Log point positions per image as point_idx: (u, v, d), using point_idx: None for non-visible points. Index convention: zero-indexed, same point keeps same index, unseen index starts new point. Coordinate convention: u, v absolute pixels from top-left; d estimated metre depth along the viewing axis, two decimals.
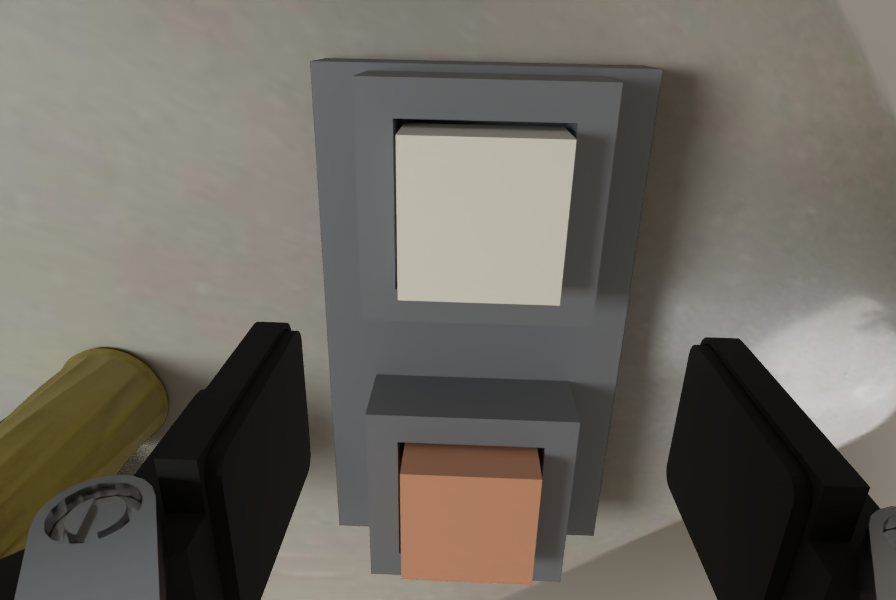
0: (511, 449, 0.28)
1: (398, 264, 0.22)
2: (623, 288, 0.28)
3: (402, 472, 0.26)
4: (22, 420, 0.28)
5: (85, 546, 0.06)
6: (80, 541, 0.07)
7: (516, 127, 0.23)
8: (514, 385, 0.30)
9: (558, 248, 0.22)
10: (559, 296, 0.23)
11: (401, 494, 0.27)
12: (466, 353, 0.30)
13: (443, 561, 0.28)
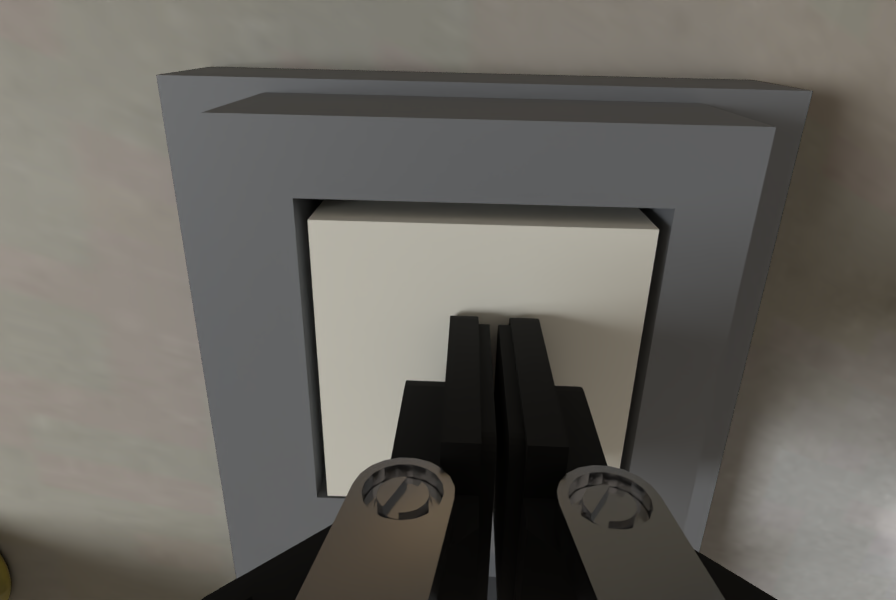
0: None
1: (326, 439, 0.12)
2: (712, 451, 0.17)
3: None
4: None
5: (385, 522, 0.07)
6: (385, 513, 0.07)
7: None
8: None
9: (615, 415, 0.12)
10: None
11: None
12: None
13: None
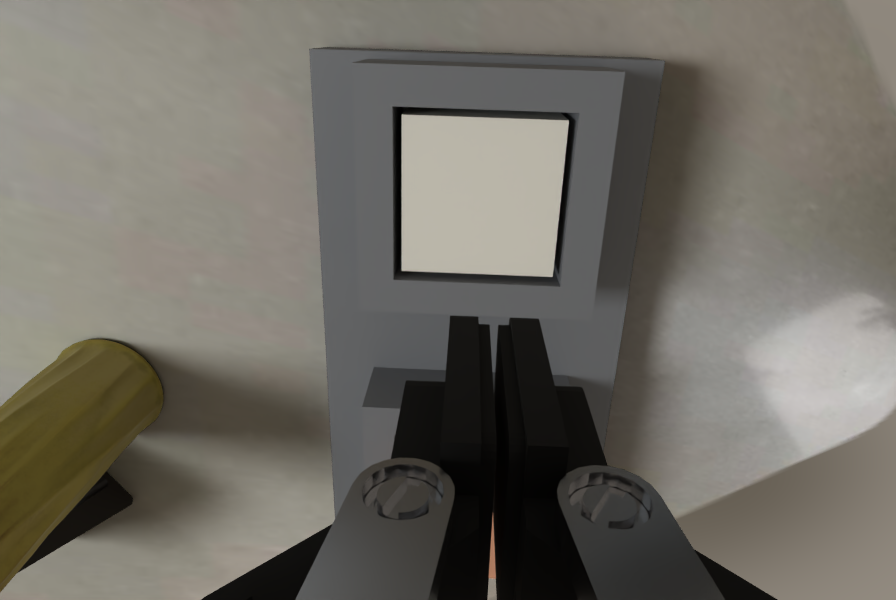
0: None
1: (402, 236, 0.24)
2: (623, 282, 0.28)
3: None
4: (15, 410, 0.28)
5: (385, 522, 0.07)
6: (384, 513, 0.07)
7: None
8: None
9: (551, 222, 0.24)
10: (552, 268, 0.24)
11: None
12: None
13: None
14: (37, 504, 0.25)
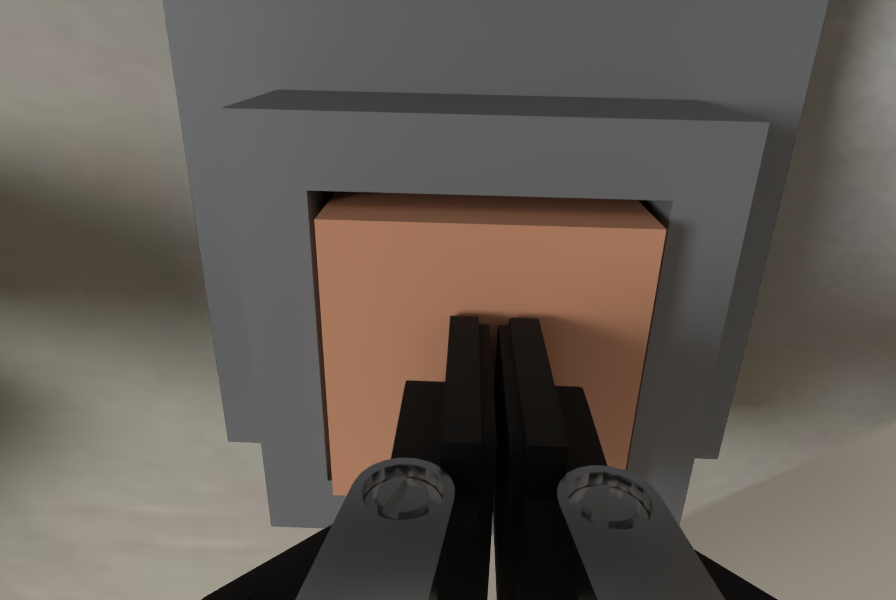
0: (577, 198, 0.12)
1: None
2: None
3: (321, 217, 0.11)
4: None
5: (385, 522, 0.07)
6: (384, 513, 0.07)
7: None
8: (582, 99, 0.13)
9: None
10: None
11: (321, 277, 0.11)
12: (474, 29, 0.13)
13: None
14: None
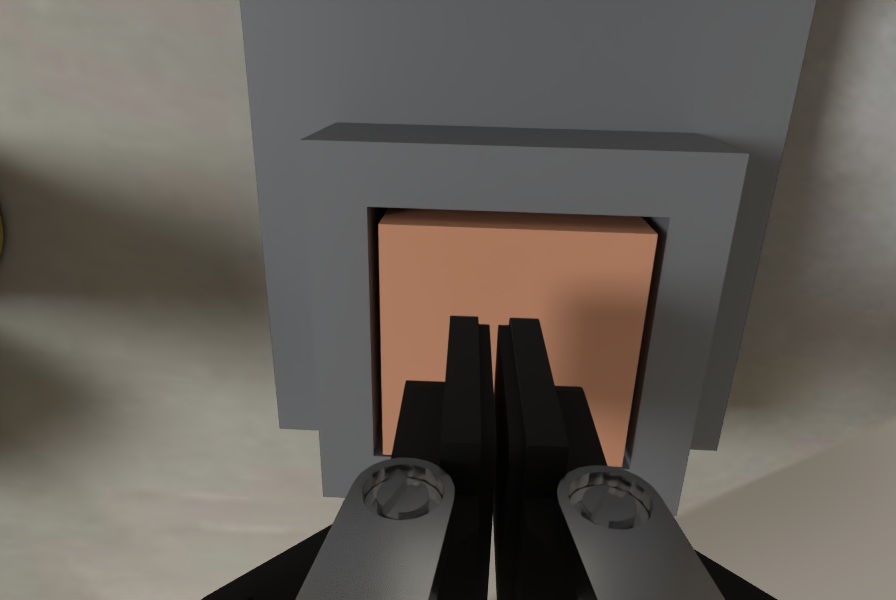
0: None
1: None
2: None
3: (383, 223, 0.14)
4: None
5: (386, 522, 0.07)
6: (385, 513, 0.07)
7: None
8: (594, 132, 0.16)
9: None
10: None
11: (381, 271, 0.14)
12: (504, 73, 0.16)
13: None
14: None
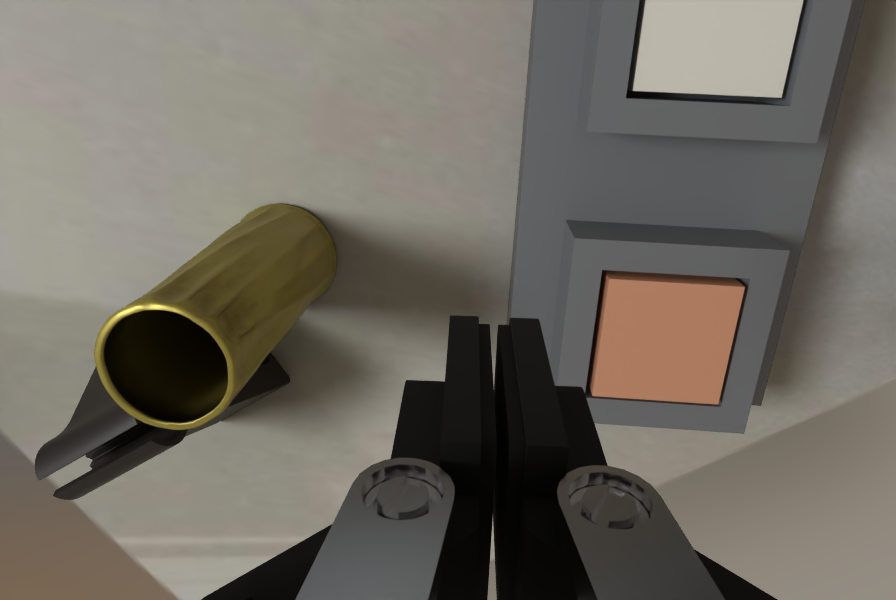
0: None
1: (639, 54, 0.25)
2: (825, 128, 0.29)
3: (610, 278, 0.28)
4: (234, 239, 0.28)
5: (385, 522, 0.07)
6: (384, 513, 0.07)
7: None
8: (705, 230, 0.30)
9: (788, 38, 0.24)
10: (782, 88, 0.25)
11: (607, 301, 0.28)
12: (658, 198, 0.30)
13: (636, 376, 0.29)
14: (271, 313, 0.26)
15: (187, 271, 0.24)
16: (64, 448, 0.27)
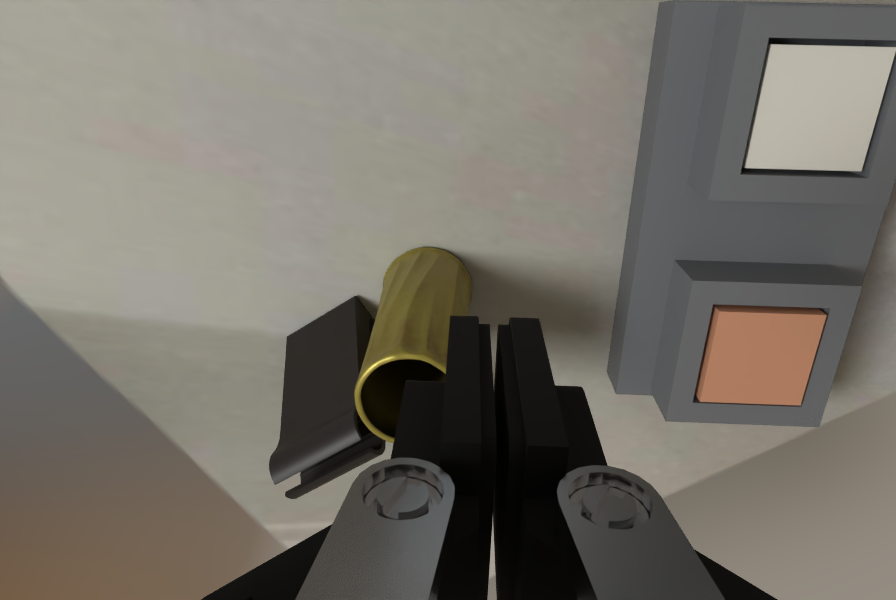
0: None
1: (751, 140, 0.32)
2: None
3: (720, 310, 0.35)
4: (417, 287, 0.35)
5: (386, 522, 0.07)
6: (385, 513, 0.07)
7: (830, 45, 0.32)
8: (789, 266, 0.37)
9: (868, 127, 0.31)
10: (862, 164, 0.32)
11: (716, 328, 0.35)
12: (750, 241, 0.37)
13: (736, 385, 0.37)
14: None
15: (406, 322, 0.31)
16: (296, 459, 0.34)
